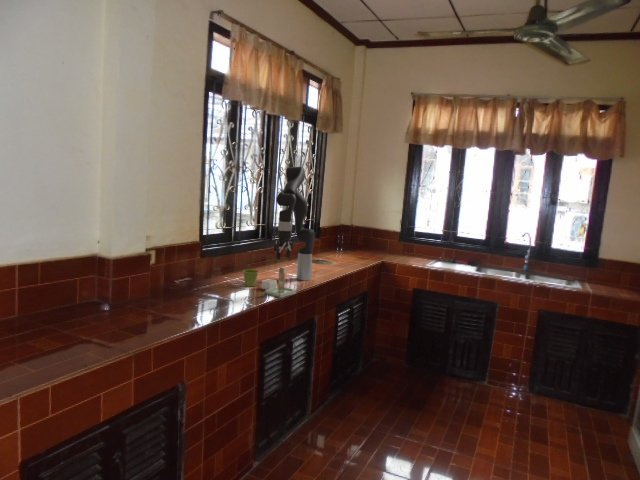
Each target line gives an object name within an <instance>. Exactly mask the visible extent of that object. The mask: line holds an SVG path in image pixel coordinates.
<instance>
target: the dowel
mask: <svg viewBox="0 0 640 480" xmlns="http://www.w3.org/2000/svg"><path fill="white" fill-rule="evenodd" d="M278 269H279V271H278V284H277V287H278V292H279V293H284V287H285V283H286V282H285V280H286V267H284V266H283V267H282V266H281V267H279V268H278Z"/></svg>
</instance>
